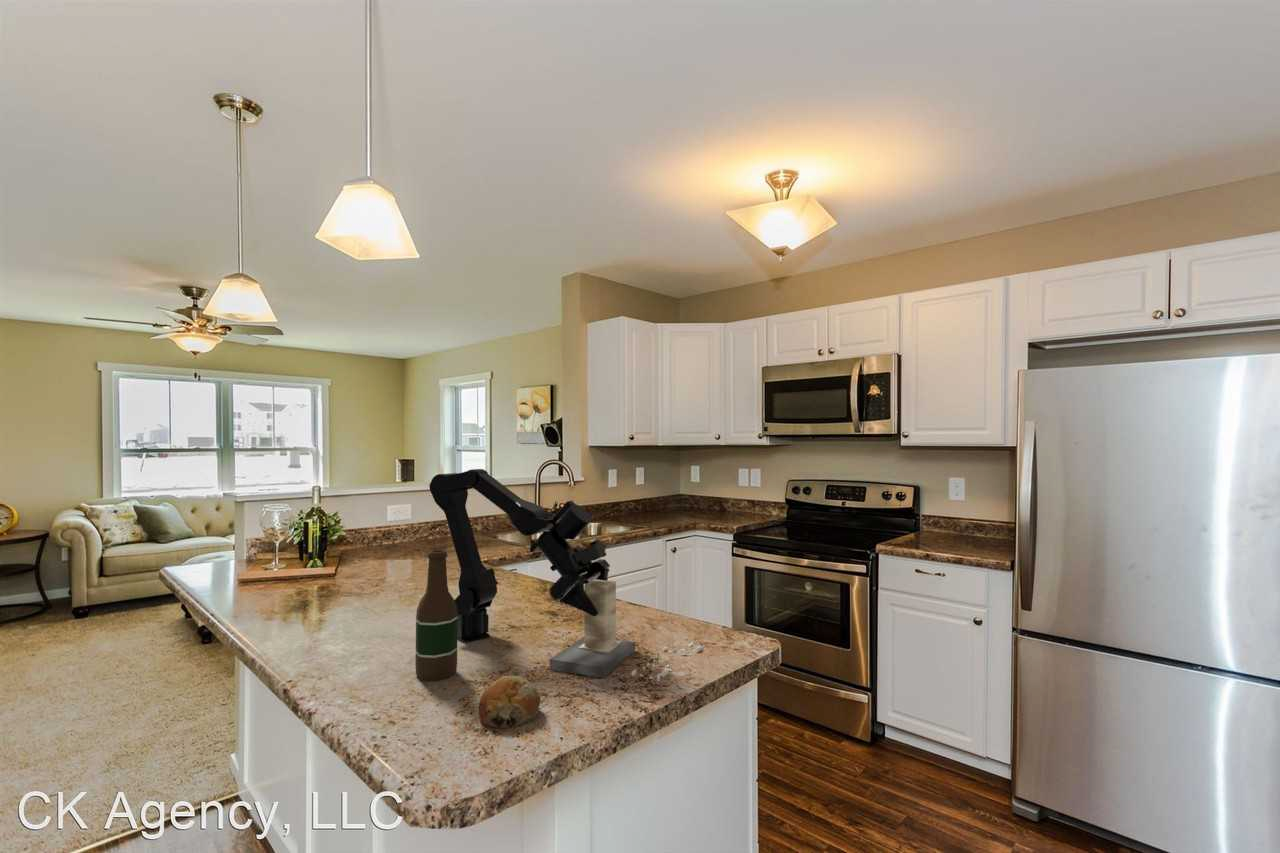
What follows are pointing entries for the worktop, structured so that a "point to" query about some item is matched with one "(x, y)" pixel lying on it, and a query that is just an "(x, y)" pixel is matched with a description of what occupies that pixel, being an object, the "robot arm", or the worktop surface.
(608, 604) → the birch pillar
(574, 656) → the slate plinth
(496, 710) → the bread roll
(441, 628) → the beer bottle
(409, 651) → the worktop surface
